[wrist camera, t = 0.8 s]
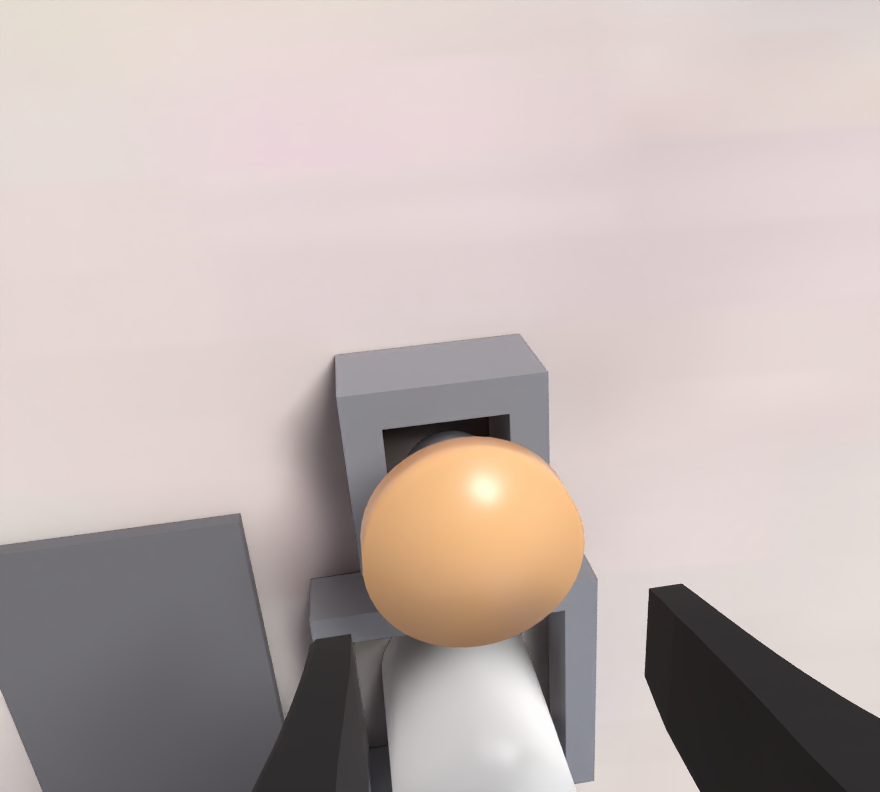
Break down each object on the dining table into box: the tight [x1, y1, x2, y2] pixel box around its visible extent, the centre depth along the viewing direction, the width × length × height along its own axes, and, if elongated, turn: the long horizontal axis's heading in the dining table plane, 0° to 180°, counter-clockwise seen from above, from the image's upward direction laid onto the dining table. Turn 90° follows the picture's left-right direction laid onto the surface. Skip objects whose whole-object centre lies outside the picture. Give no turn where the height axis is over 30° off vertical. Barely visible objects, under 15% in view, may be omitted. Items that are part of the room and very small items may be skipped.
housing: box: [309, 334, 598, 792], centre depth 22 cm, size 16×9×3 cm, turn 4°
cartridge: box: [382, 634, 577, 792], centre depth 22 cm, size 5×5×7 cm
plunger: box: [360, 431, 585, 647], centre depth 17 cm, size 5×5×4 cm
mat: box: [0, 514, 284, 792], centre depth 24 cm, size 12×8×1 cm, turn 4°
